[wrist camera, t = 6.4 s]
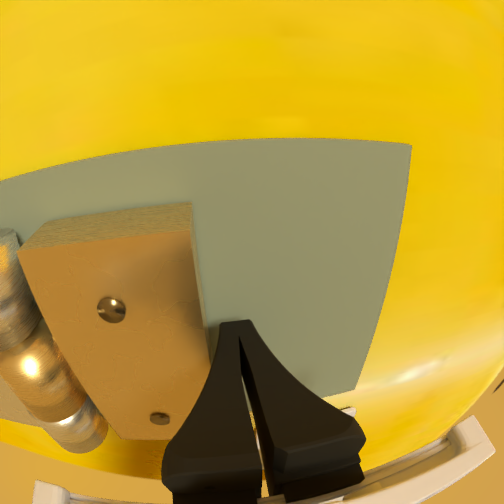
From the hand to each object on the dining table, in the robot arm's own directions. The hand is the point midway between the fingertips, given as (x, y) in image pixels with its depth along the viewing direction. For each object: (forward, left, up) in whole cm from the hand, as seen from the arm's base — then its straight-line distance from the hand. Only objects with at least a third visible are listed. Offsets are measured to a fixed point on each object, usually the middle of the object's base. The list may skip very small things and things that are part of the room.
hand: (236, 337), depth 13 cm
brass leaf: (0, +6, -1) cm, 6 cm away
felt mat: (0, +6, -1) cm, 6 cm away
